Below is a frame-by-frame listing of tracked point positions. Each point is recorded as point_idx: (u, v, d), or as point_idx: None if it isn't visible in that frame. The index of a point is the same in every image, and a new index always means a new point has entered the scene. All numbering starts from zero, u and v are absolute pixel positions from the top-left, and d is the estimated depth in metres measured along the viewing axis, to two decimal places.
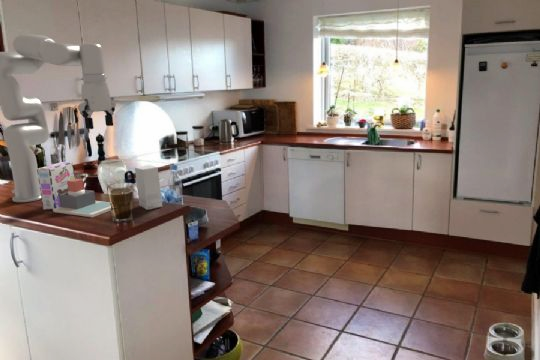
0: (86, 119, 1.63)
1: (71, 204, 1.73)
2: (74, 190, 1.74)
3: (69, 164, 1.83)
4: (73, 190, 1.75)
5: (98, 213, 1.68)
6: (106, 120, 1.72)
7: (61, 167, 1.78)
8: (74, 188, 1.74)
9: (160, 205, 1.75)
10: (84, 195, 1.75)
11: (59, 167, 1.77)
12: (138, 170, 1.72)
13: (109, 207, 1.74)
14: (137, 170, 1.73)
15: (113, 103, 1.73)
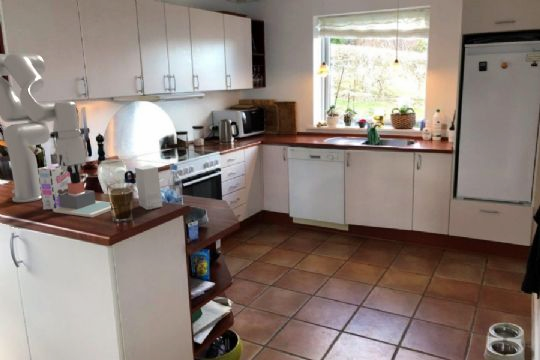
0: (71, 174, 1.74)
1: (71, 204, 1.73)
2: (74, 192, 1.75)
3: None
4: (73, 192, 1.75)
5: (98, 213, 1.68)
6: None
7: None
8: (74, 190, 1.74)
9: (160, 205, 1.75)
10: (84, 195, 1.75)
11: (60, 167, 1.77)
12: (138, 170, 1.72)
13: (109, 207, 1.74)
14: (137, 170, 1.73)
15: (83, 162, 1.78)
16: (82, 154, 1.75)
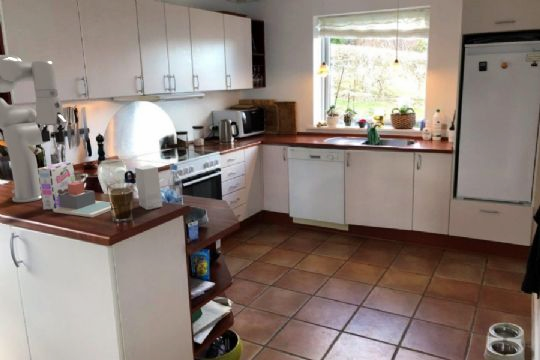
0: None
1: (71, 204, 1.73)
2: (74, 193, 1.75)
3: (70, 164, 1.83)
4: (73, 193, 1.75)
5: (98, 213, 1.68)
6: None
7: (62, 167, 1.78)
8: (74, 191, 1.74)
9: (160, 205, 1.75)
10: (84, 195, 1.75)
11: (60, 167, 1.77)
12: (138, 170, 1.72)
13: (109, 207, 1.74)
14: (137, 170, 1.73)
15: (61, 121, 1.71)
16: (49, 116, 1.71)
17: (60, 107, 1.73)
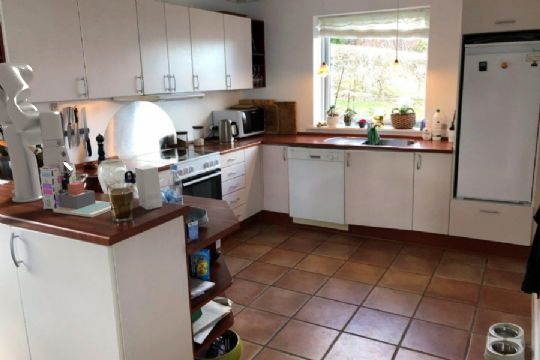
0: None
1: (71, 204, 1.73)
2: (74, 193, 1.75)
3: (72, 164, 1.83)
4: (73, 193, 1.75)
5: (98, 213, 1.68)
6: None
7: None
8: (74, 191, 1.74)
9: (160, 205, 1.75)
10: (84, 195, 1.75)
11: None
12: (138, 170, 1.72)
13: (109, 207, 1.74)
14: (137, 170, 1.73)
15: (68, 170, 1.75)
16: (56, 165, 1.75)
17: (67, 156, 1.77)
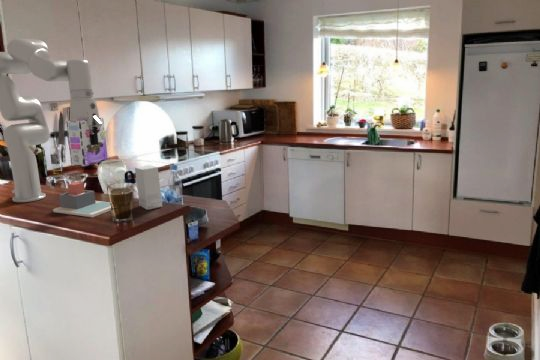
0: None
1: (71, 204, 1.73)
2: (74, 193, 1.75)
3: (100, 119, 1.71)
4: (73, 193, 1.75)
5: (98, 213, 1.68)
6: None
7: None
8: (74, 191, 1.74)
9: (160, 205, 1.75)
10: (84, 195, 1.75)
11: None
12: (138, 170, 1.72)
13: (109, 207, 1.74)
14: (137, 170, 1.73)
15: (97, 123, 1.64)
16: (85, 117, 1.63)
17: (95, 108, 1.65)
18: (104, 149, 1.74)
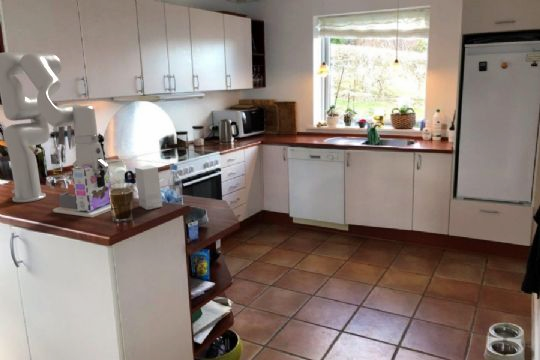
0: None
1: (71, 204, 1.73)
2: (74, 193, 1.75)
3: None
4: (73, 193, 1.75)
5: (98, 213, 1.68)
6: None
7: None
8: (74, 191, 1.74)
9: (160, 205, 1.75)
10: None
11: None
12: (138, 170, 1.72)
13: (109, 207, 1.74)
14: (137, 170, 1.73)
15: (103, 166, 1.67)
16: (90, 162, 1.67)
17: (101, 152, 1.69)
18: None
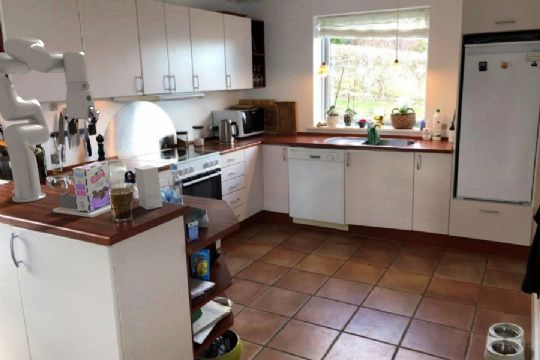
0: None
1: (71, 204, 1.73)
2: (74, 193, 1.75)
3: (105, 164, 1.75)
4: (73, 193, 1.75)
5: (98, 213, 1.68)
6: None
7: (97, 167, 1.70)
8: (74, 191, 1.74)
9: (160, 205, 1.75)
10: None
11: (95, 167, 1.69)
12: (138, 170, 1.72)
13: (109, 207, 1.74)
14: (137, 170, 1.73)
15: (94, 112, 1.63)
16: (81, 109, 1.63)
17: (92, 100, 1.65)
18: None
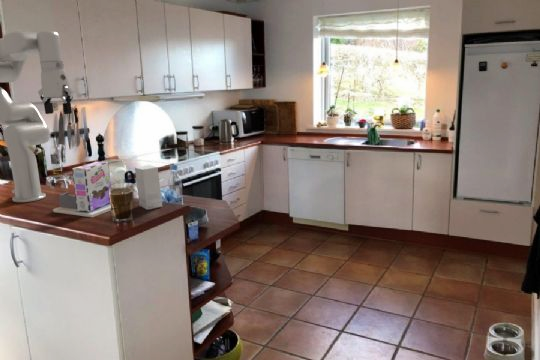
0: None
1: (71, 204, 1.73)
2: (74, 193, 1.75)
3: (105, 164, 1.75)
4: (73, 193, 1.75)
5: (98, 213, 1.68)
6: None
7: (97, 167, 1.70)
8: (74, 191, 1.74)
9: (160, 205, 1.75)
10: None
11: (95, 167, 1.69)
12: (138, 170, 1.72)
13: (109, 207, 1.74)
14: (137, 170, 1.73)
15: (68, 91, 1.66)
16: (55, 88, 1.67)
17: (66, 79, 1.68)
18: None
